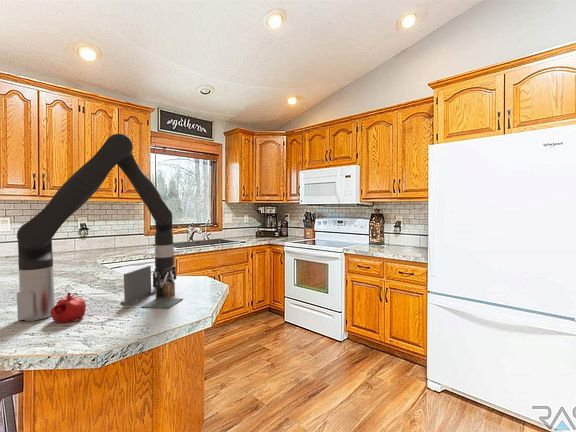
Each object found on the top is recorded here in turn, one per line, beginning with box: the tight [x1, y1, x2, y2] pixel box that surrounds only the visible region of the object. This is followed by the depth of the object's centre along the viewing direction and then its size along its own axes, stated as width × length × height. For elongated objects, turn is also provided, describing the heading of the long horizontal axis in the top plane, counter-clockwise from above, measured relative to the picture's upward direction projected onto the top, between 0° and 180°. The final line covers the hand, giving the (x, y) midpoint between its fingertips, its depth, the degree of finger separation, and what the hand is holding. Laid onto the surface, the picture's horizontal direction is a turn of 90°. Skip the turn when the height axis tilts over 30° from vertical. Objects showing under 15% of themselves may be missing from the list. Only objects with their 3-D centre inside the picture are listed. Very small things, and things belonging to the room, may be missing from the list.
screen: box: [120, 265, 156, 306], centre depth 127 cm, size 16×5×12 cm, turn 172°
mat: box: [140, 297, 184, 310], centre depth 120 cm, size 11×11×1 cm
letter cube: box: [155, 281, 176, 299], centre depth 130 cm, size 6×6×6 cm
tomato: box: [50, 292, 87, 324], centre depth 104 cm, size 10×10×9 cm
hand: (165, 293), depth 130 cm, fingers open, 8 cm apart
